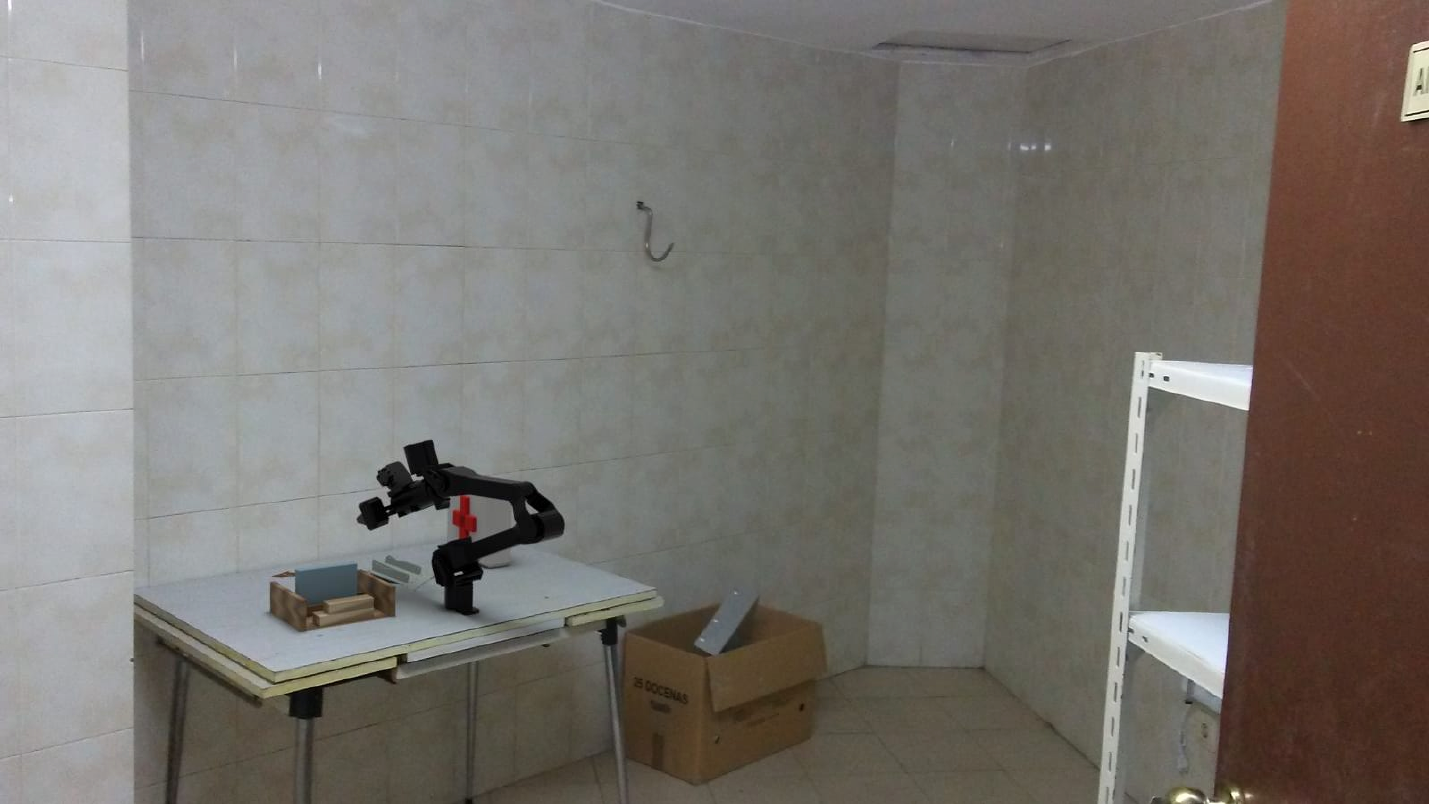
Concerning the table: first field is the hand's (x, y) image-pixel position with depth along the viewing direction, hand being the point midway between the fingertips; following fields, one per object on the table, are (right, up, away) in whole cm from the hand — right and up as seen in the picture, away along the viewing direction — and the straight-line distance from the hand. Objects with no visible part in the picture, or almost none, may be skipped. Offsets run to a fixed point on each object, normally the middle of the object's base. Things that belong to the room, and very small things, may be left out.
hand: (373, 514), depth 253 cm
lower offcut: (+1, -18, -24) cm, 30 cm away
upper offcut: (+2, -16, -24) cm, 29 cm away
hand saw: (-26, -16, +3) cm, 31 cm away
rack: (-2, -19, -20) cm, 27 cm away
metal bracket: (+3, -17, +10) cm, 19 cm away
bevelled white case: (+16, -14, +32) cm, 39 cm away
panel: (-4, -17, -18) cm, 25 cm away
